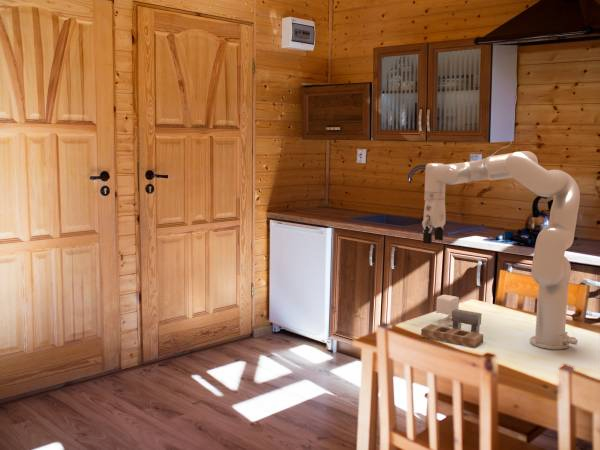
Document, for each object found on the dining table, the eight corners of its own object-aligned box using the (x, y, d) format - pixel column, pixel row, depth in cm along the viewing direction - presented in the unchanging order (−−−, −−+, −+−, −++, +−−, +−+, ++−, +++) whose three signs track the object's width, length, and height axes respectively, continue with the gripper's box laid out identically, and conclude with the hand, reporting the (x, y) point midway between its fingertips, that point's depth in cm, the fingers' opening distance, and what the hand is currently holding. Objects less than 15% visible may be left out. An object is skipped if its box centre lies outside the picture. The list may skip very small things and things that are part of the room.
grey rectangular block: (480, 335, 249) (481, 313, 248) (477, 337, 246) (478, 315, 245) (454, 329, 255) (455, 308, 253) (451, 331, 252) (451, 310, 251)
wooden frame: (483, 342, 240) (483, 334, 240) (474, 348, 234) (475, 339, 234) (430, 332, 252) (430, 324, 251) (421, 337, 246) (421, 328, 245)
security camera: (443, 319, 269) (444, 294, 267) (460, 322, 264) (461, 297, 263) (435, 322, 264) (436, 297, 262) (452, 326, 259) (453, 300, 258)
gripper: (433, 199, 249) (432, 245, 251) (453, 195, 263) (451, 239, 265) (415, 197, 253) (413, 243, 256) (435, 193, 267) (433, 237, 270)
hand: (433, 241), depth 260 cm, fingers open, 9 cm apart
